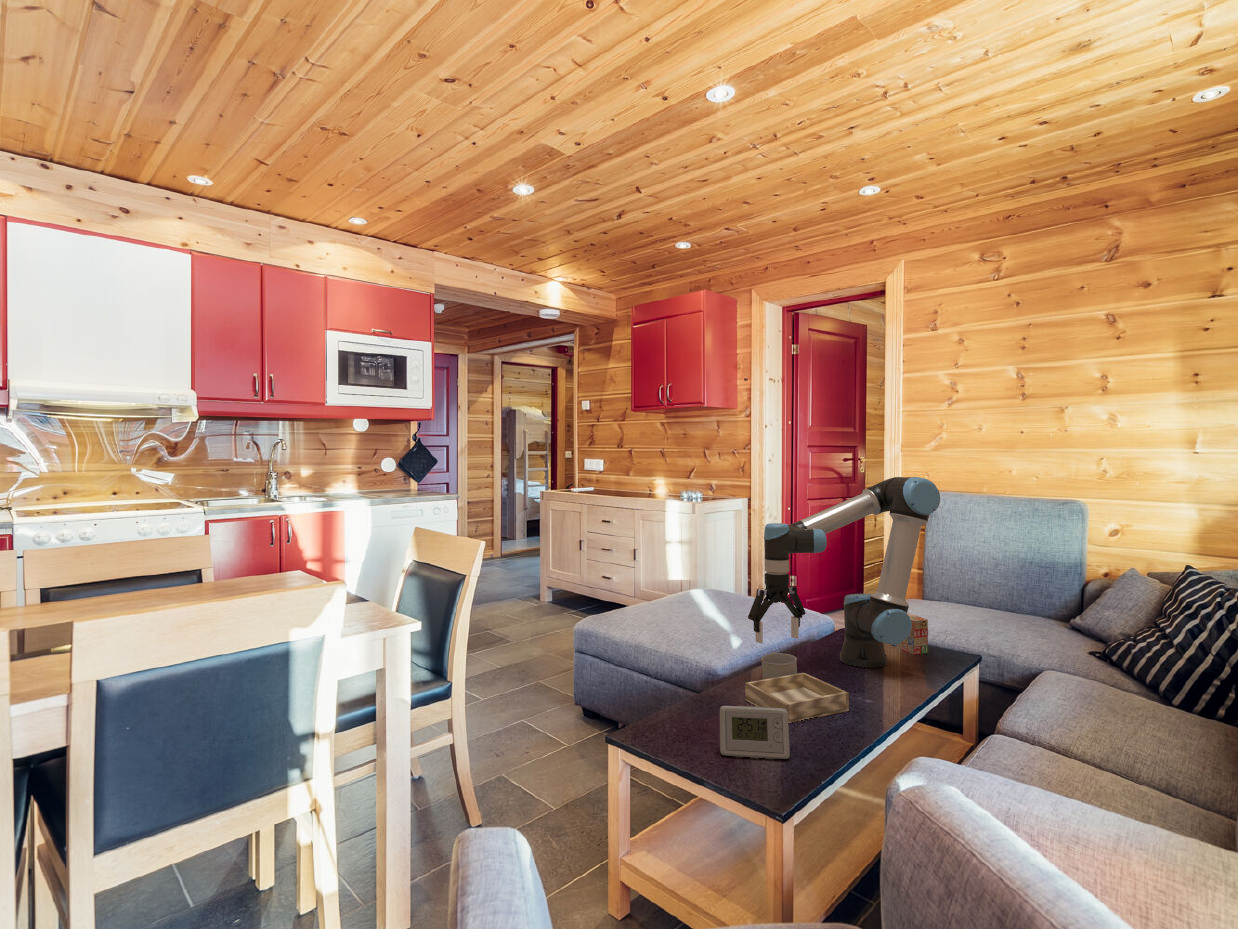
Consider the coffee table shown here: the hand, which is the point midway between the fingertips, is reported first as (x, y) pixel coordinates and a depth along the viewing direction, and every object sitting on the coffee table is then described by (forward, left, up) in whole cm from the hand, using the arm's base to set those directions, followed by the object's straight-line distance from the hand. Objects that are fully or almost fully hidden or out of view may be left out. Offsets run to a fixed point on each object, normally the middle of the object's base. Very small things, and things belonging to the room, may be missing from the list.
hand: (777, 640), depth 200 cm
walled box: (+8, +19, -13) cm, 24 cm away
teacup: (0, 0, -13) cm, 13 cm away
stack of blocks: (-64, -12, -13) cm, 67 cm away
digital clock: (+36, +39, -13) cm, 55 cm away
